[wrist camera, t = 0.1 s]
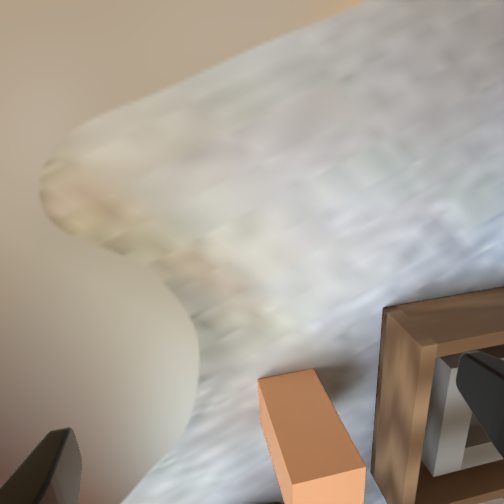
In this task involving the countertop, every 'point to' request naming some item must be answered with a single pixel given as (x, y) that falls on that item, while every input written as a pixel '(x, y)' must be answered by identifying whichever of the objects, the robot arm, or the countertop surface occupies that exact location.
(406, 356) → the tray
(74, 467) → the robot arm
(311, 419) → the block
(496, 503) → the supplement box
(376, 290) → the countertop surface
